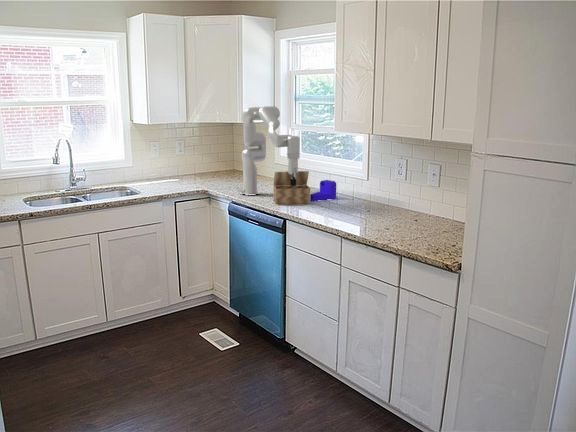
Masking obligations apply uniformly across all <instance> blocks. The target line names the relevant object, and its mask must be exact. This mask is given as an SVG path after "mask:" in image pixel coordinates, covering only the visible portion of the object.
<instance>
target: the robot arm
mask: <svg viewBox="0 0 576 432" xmlns="http://www.w3.org/2000/svg"><path fill="white" fill-rule="evenodd" d="M280 115H281V112H280V109H279V108H278V107H277V106H275V105H274V106H273V105H272V106H271V105H269V106H260V107H259V106H252V107H247V108H245V109H244V110H243V111H242V115H241V120H242V125H243V144H244V146H246V147H248V148H246V149H244V150H242V152H241V161H242V172H243V174H242V175H243V178H242V179H243V180H242V181H243V187H241V188H236V192H239V193H242V194H259V193H260V192H259V191H258V168H257V165H256V164H255V163H259V162H263V161H265V159H266V156H267V139H266V136H265V134H264V132H261V131H257V126H256V123H255V121H262V122H263V123H264V124H265V126H266V128H267V136H268V139H269V141H270V143H271V144H272V145H273V146H274V147H276V148H277V149H278V148H287V153H286V154H287V155H286V156H287V159H288V161H287V162H288V164H287V171H288V173H289V174H290V175H291V186H295V185H296V175H297V174H298V171H299V160H298V159H300V151H301V149H300V147H301V146H300V145H301V144H300V141H301V140H300V137H299V136H298V135H292V134H280V135H279V134H278V133H277V132H276V131H277V129H278V128H279V127H280V124H281V121H280V120H279V118H280ZM249 147H250V148H249ZM251 147H252V148H251ZM258 192H259V193H258ZM242 194H241V195H242ZM259 195H260V194H259Z"/></svg>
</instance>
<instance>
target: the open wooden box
mask: <svg viewBox="0 0 576 432" xmlns="http://www.w3.org/2000/svg"><path fill="white" fill-rule="evenodd" d="M272 186H273V185H272ZM272 192H273V203H274V202H275V203H274V204H275V205H276V204H287V205H310V204H311V201H310V194H311V187H309V185H308V184H307V185H295V186H291V185H285V186H273V191H272Z"/></svg>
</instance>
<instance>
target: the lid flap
mask: <svg viewBox="0 0 576 432" xmlns="http://www.w3.org/2000/svg"><path fill="white" fill-rule="evenodd" d="M309 174H310V171H309V170H298V174H297V175H296V185H307V186H308V180H309ZM272 184H273V185H272V186H290V185H291V175H290V174H289V173H288V170H287V171H286V170H285V171H274V175H273V183H272Z"/></svg>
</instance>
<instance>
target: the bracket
mask: <svg viewBox="0 0 576 432" xmlns="http://www.w3.org/2000/svg"><path fill="white" fill-rule="evenodd" d="M334 198H336V199H337V182H336V181H335V180H330V179H329V180H328V179H324V180H323V179H322V180H320V182H319V190H318V191H316V192H314V193H310V202H319V201H318V200H323V201H328V200H327V199H332V200H335V199H334Z"/></svg>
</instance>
